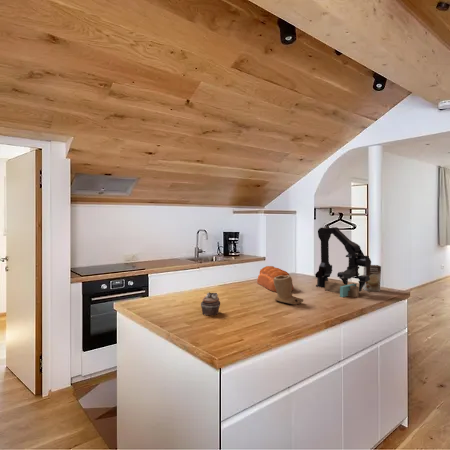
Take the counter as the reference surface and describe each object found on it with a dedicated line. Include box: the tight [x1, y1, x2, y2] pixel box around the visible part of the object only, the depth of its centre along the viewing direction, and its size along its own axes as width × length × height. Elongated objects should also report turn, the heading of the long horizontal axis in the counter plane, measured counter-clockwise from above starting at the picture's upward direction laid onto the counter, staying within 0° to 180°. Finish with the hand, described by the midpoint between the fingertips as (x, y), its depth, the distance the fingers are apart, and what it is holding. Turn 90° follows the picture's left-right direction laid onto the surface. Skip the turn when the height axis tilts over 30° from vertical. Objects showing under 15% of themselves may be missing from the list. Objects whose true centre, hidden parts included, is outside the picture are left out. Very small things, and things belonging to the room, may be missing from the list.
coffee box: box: [362, 264, 382, 292], centre depth 224 cm, size 9×6×16 cm
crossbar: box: [339, 283, 358, 298], centre depth 210 cm, size 15×2×6 cm, turn 129°
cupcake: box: [200, 292, 221, 316], centre depth 171 cm, size 10×10×10 cm
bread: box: [256, 265, 294, 293], centre depth 232 cm, size 16×31×13 cm, turn 16°
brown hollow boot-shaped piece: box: [273, 274, 304, 306], centre depth 192 cm, size 15×12×15 cm
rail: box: [324, 280, 360, 298], centre depth 214 cm, size 22×2×6 cm, turn 39°
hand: (352, 290), depth 214 cm, fingers open, 9 cm apart
